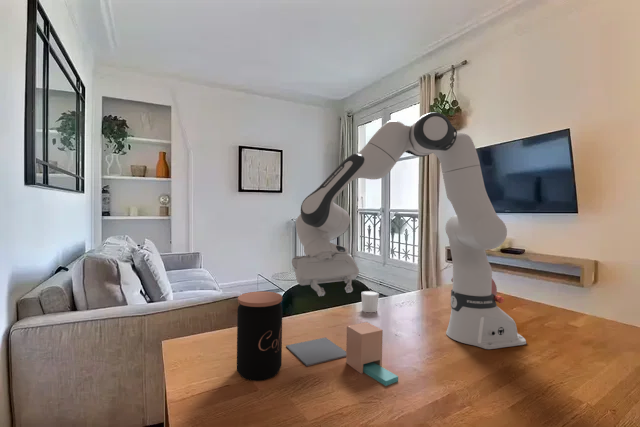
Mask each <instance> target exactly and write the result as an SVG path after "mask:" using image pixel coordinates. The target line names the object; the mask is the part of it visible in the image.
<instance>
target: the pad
mask: <svg viewBox="0 0 640 427" xmlns="http://www.w3.org/2000/svg"><path fill="white" fill-rule="evenodd" d="M285 346H286V347H285V348H286V349H288V350H289V351H290V352H291V353H292V354H293V355H294V356H295V357H296V358H297V359H298V360H299V361H300V362H301V363H302V364H304V366H306V367H309V366H313V365H317V364H322V363H325V362H330V361H334V360H339V359H343V358H346V350H344V348H342V347H340V346H338V345H337V344H336V343H334V342H333V341H331V339H329V338H327V337H322V338H317V339H316V338H315V339H312V340H306V341H301V342H295V343H293V344H292V343H291V344H287V345H285Z"/></svg>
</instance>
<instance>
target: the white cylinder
mask: <svg viewBox="0 0 640 427" xmlns="http://www.w3.org/2000/svg"><path fill="white" fill-rule="evenodd" d="M360 295H361V308H362V309H361V310H362V312H363V313H366V312H375V313H377V312H378V307H379V306H378V305H379V297H380V293H379V292H377V291H373V290H364V291H361V293H360ZM376 311H377V312H376Z"/></svg>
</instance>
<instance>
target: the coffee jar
mask: <svg viewBox="0 0 640 427" xmlns="http://www.w3.org/2000/svg"><path fill="white" fill-rule="evenodd" d="M282 301H283V295H282V294H280V293H278V292H275V291H250V292H245V293H243V294H239V296H238V297H237V303H238V304H239V305H238V306H237V312H236V313H237V315H236V316H237V322H236V324H237V326H236V328H237V330H236V332H237V334H236V371H237V373H238V375H240V377H241V378H243V379H244V380H246V381H252V382H255V381H256V382H261V381H266V380H270V379H272V378H273V377H275V376H276V375H277V374H278V373H279V371H280V369H281V368H282V355H283V353H282V351H283V350H282V349H283V348H282V347H283V345H282V344H283V305H282V303H281V302H282Z"/></svg>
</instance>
